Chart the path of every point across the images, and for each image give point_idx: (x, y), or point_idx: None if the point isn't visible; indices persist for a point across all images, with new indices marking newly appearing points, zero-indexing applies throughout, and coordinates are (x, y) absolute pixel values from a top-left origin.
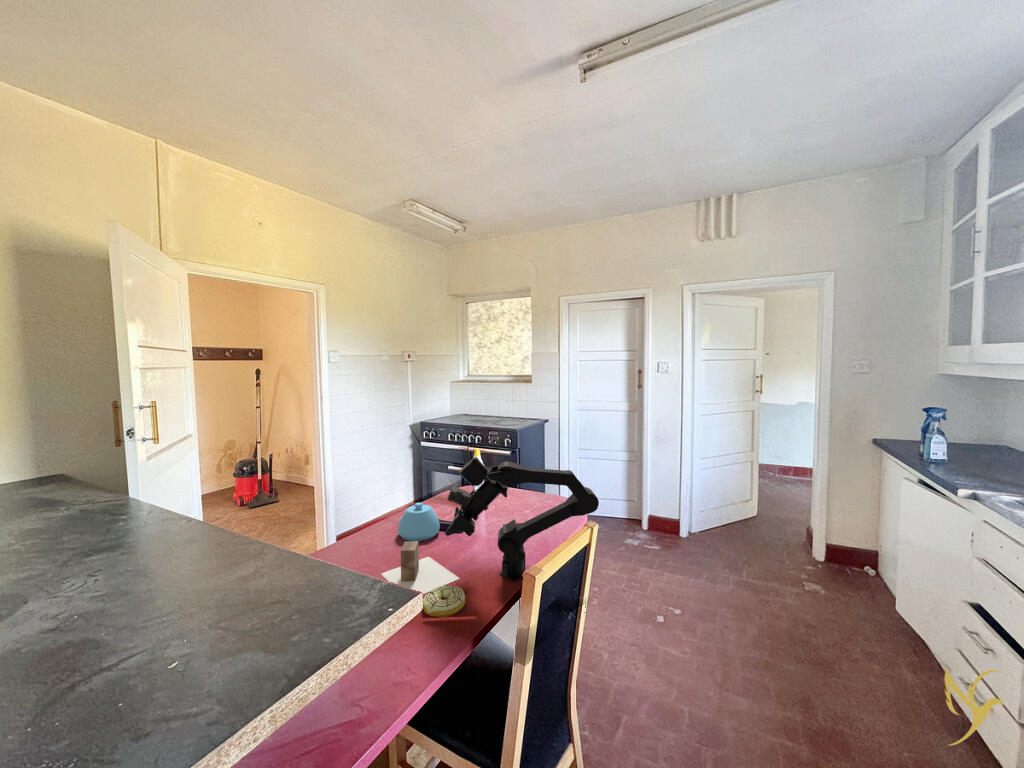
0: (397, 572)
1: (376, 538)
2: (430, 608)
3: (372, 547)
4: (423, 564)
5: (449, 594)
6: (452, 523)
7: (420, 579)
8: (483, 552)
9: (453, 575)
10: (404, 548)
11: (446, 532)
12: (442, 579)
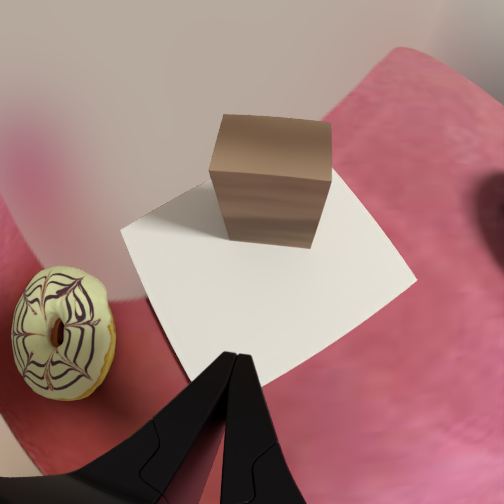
0: None
1: (500, 131)
2: (26, 287)
3: (459, 120)
4: (356, 264)
5: (53, 350)
6: (124, 443)
7: (236, 258)
8: (419, 495)
9: None
10: (243, 125)
11: (212, 365)
12: (217, 344)
